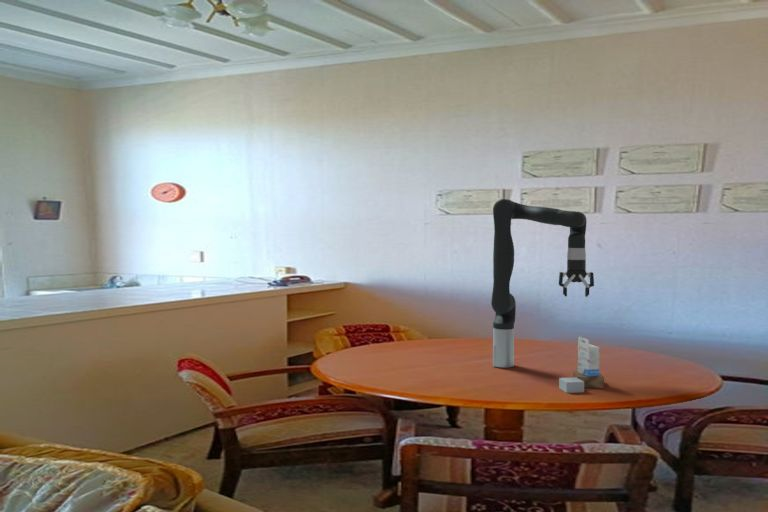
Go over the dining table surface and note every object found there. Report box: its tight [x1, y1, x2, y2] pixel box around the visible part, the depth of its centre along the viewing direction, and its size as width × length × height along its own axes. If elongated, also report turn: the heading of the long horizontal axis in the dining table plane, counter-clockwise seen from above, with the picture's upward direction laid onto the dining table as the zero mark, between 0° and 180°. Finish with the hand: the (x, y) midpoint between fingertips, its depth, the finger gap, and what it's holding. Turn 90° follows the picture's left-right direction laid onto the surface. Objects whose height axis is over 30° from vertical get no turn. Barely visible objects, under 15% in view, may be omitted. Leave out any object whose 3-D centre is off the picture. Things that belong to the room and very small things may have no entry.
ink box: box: [577, 336, 600, 377], centre depth 243 cm, size 8×5×15 cm, turn 12°
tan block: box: [572, 370, 605, 389], centre depth 243 cm, size 10×10×4 cm
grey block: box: [558, 377, 585, 394], centre depth 234 cm, size 7×7×4 cm
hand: (576, 296), depth 261 cm, fingers open, 8 cm apart
